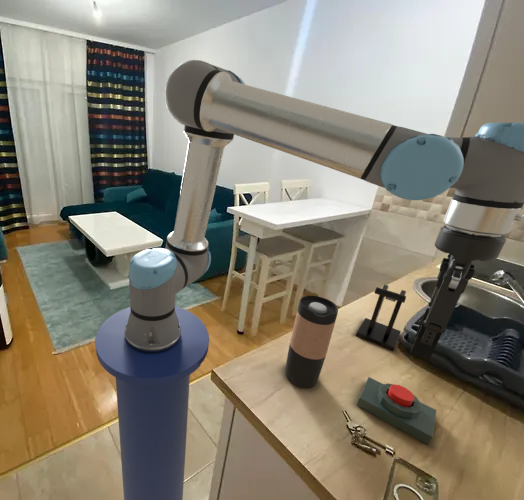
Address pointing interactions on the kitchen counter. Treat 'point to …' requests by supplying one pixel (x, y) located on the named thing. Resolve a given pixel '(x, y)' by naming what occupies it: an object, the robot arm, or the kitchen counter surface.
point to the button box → (398, 411)
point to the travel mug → (310, 340)
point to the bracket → (381, 326)
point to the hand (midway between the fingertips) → (421, 347)
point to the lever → (390, 295)
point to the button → (401, 395)
